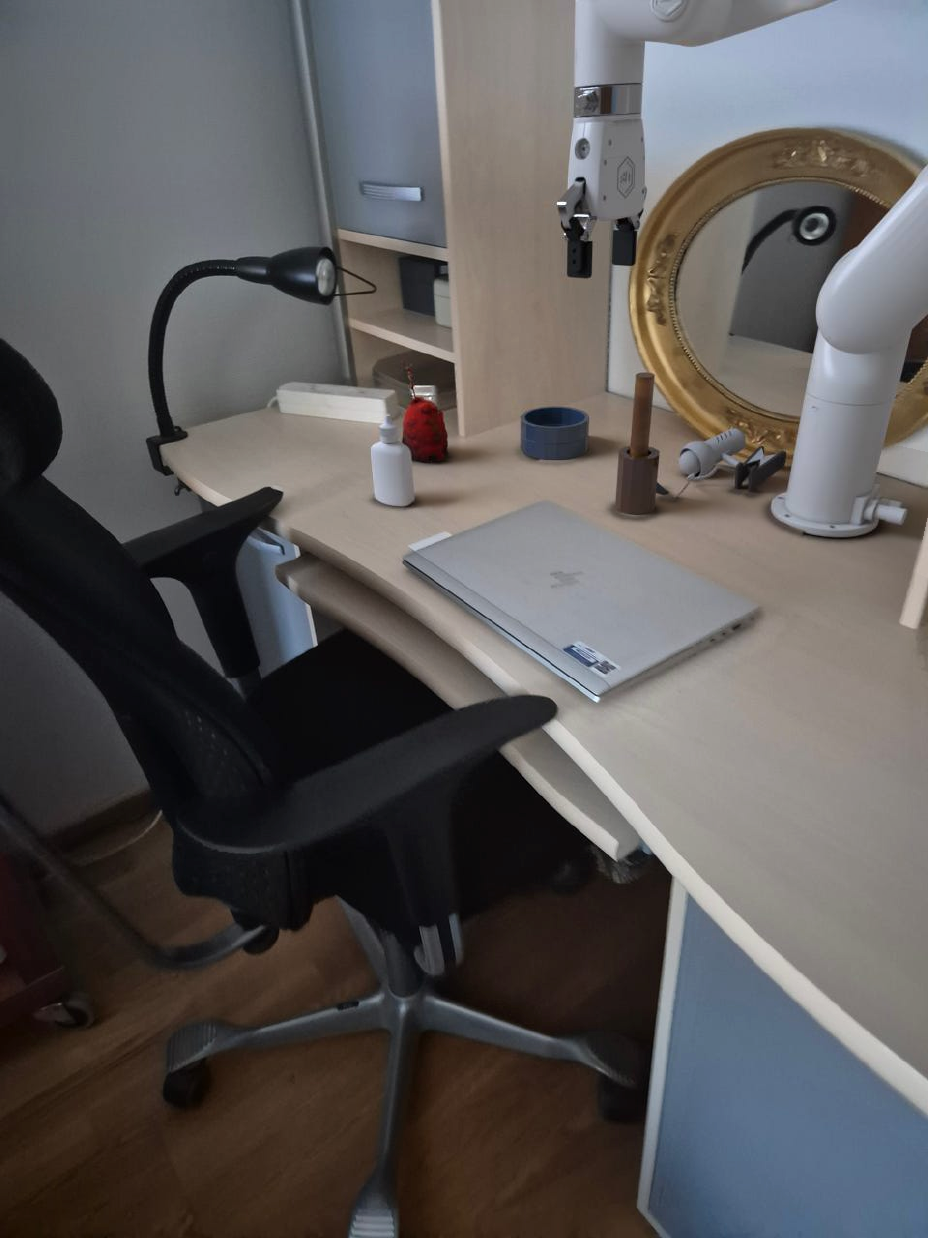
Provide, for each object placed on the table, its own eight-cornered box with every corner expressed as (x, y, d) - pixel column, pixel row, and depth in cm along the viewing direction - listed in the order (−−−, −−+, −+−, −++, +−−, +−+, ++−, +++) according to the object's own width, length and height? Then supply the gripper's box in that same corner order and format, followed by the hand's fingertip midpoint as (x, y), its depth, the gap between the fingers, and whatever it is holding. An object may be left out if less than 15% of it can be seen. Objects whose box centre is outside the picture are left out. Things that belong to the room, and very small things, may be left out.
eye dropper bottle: (401, 490, 114) (394, 406, 108) (417, 504, 110) (411, 417, 103) (372, 497, 112) (363, 412, 106) (388, 511, 108) (380, 423, 102)
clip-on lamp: (686, 533, 106) (790, 477, 110) (686, 493, 102) (795, 436, 106) (630, 495, 114) (729, 444, 118) (628, 456, 110) (731, 405, 114)
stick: (646, 505, 105) (658, 373, 96) (637, 511, 104) (649, 378, 95) (631, 501, 106) (641, 371, 97) (622, 507, 105) (632, 375, 96)
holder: (660, 508, 106) (666, 450, 101) (641, 522, 102) (646, 462, 98) (627, 499, 108) (631, 442, 104) (607, 512, 105) (611, 453, 101)
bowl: (600, 448, 125) (602, 413, 122) (562, 468, 119) (563, 432, 116) (546, 435, 131) (546, 402, 128) (507, 454, 124) (506, 419, 121)
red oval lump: (455, 460, 123) (451, 360, 115) (411, 468, 121) (404, 367, 113) (438, 445, 129) (433, 349, 121) (396, 452, 127) (388, 355, 119)
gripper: (592, 106, 83) (587, 284, 92) (676, 102, 93) (665, 262, 102) (533, 110, 87) (534, 280, 96) (620, 106, 98) (614, 259, 107)
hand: (602, 270), depth 99 cm, fingers open, 9 cm apart
